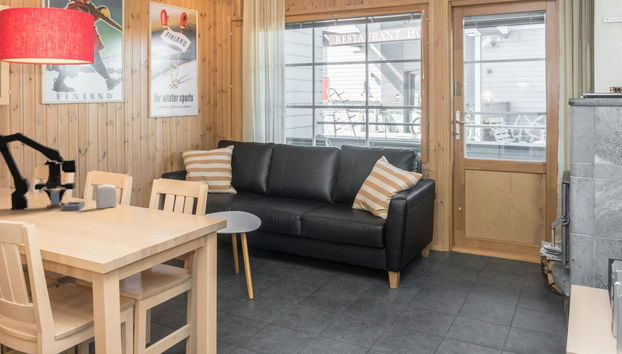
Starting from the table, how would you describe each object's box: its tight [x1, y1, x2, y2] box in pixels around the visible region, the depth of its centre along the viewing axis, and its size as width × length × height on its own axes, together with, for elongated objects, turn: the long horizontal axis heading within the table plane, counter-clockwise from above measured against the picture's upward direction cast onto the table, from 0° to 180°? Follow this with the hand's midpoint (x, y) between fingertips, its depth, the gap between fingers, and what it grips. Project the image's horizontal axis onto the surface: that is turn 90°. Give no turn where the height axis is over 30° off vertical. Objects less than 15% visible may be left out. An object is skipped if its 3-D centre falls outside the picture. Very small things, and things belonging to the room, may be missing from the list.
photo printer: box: [95, 184, 117, 210], centre depth 272 cm, size 10×4×12 cm, turn 134°
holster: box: [46, 202, 66, 209], centre depth 276 cm, size 9×15×2 cm, turn 11°
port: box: [62, 200, 85, 212], centre depth 269 cm, size 8×12×3 cm, turn 11°
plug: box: [50, 189, 62, 205], centre depth 271 cm, size 4×4×9 cm
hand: (56, 202), depth 272 cm, fingers closed on plug, 4 cm apart
